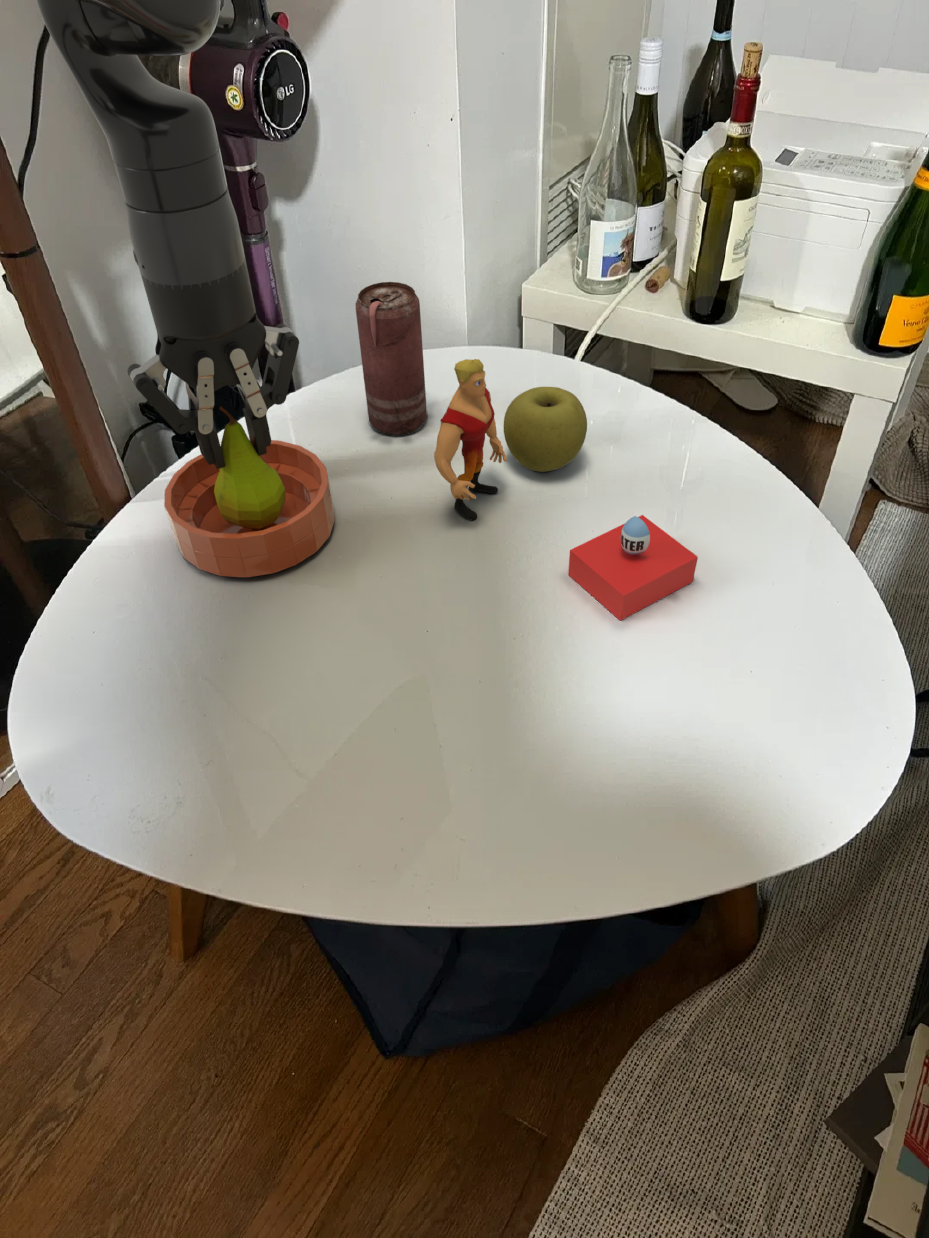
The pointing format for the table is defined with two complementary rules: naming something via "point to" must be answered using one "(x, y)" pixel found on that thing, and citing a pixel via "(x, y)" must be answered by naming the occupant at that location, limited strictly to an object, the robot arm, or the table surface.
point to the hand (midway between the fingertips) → (238, 456)
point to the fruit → (246, 482)
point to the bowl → (248, 548)
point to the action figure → (467, 435)
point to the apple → (545, 428)
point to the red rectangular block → (632, 566)
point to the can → (392, 357)
